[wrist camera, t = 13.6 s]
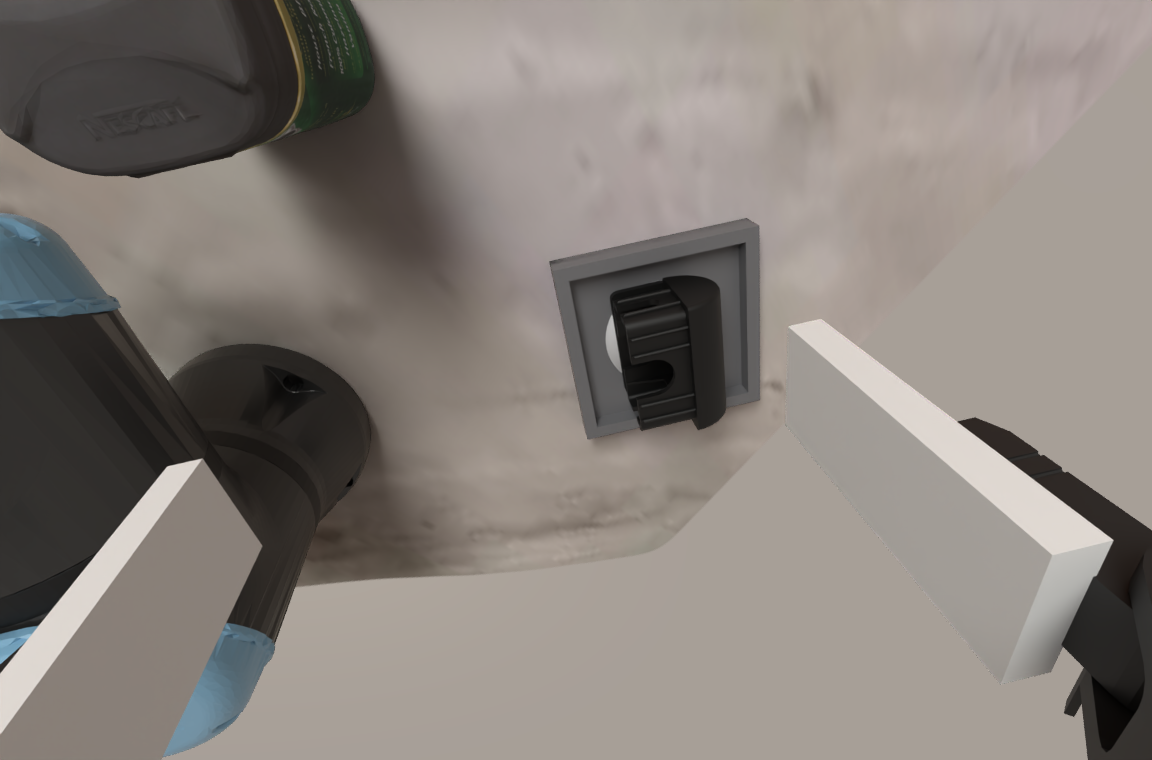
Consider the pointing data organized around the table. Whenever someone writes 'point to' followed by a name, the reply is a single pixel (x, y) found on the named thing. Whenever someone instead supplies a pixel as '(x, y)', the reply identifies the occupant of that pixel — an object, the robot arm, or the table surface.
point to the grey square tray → (598, 274)
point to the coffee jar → (174, 78)
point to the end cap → (672, 350)
